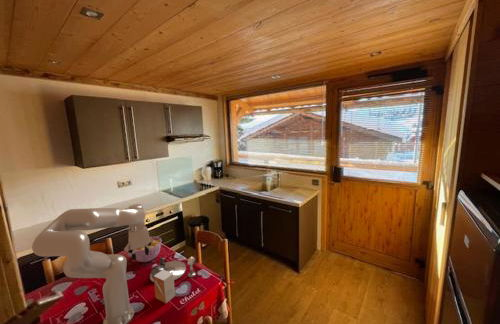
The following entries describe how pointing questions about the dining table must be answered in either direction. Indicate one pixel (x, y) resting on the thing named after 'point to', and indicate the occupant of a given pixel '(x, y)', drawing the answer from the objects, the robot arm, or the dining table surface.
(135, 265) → the dining table surface
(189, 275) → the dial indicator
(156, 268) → the cover
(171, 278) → the small box
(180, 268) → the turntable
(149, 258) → the bowl of food
